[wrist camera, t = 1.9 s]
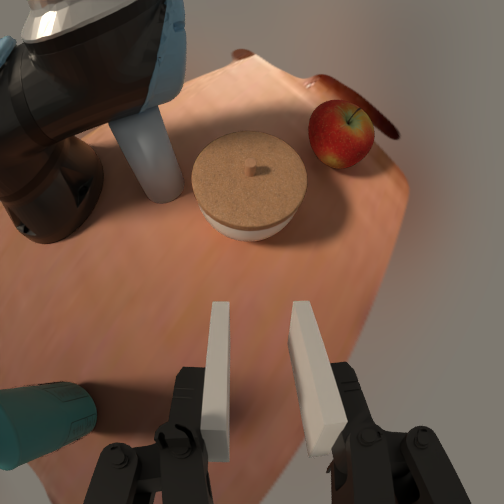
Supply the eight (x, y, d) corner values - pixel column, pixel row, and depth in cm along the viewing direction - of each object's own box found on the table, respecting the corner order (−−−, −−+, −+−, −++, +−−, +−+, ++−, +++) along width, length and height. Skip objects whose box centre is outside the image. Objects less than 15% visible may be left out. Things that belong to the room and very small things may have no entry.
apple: (335, 126, 39) (355, 76, 29) (369, 168, 37) (400, 121, 27) (289, 142, 37) (303, 87, 28) (324, 189, 35) (350, 138, 26)
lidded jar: (283, 168, 36) (296, 116, 27) (302, 248, 32) (325, 211, 23) (197, 177, 35) (186, 125, 26) (204, 261, 31) (192, 226, 22)
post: (142, 181, 35) (106, 111, 24) (178, 165, 36) (152, 91, 25) (151, 210, 33) (110, 137, 22) (189, 193, 34) (161, 114, 23)
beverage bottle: (82, 369, 27) (-59, 368, 8) (116, 418, 25) (-10, 475, 6) (50, 395, 25) (-81, 406, 6) (81, 442, 24) (-38, 493, 5)
